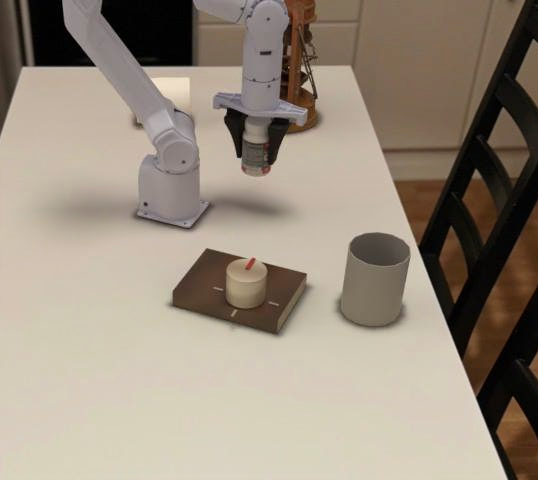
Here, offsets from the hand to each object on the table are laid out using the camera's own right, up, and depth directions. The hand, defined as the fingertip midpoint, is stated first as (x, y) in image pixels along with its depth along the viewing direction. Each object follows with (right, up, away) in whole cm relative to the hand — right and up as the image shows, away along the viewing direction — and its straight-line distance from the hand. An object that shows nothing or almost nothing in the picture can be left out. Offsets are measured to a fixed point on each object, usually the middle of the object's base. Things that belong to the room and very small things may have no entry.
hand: (256, 158), depth 144 cm
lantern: (+7, +16, +30) cm, 35 cm away
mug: (-15, +16, +30) cm, 38 cm away
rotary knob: (-3, -24, -15) cm, 28 cm away
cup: (+15, -25, -13) cm, 32 cm away
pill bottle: (0, -2, +2) cm, 2 cm away
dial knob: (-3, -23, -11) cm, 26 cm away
